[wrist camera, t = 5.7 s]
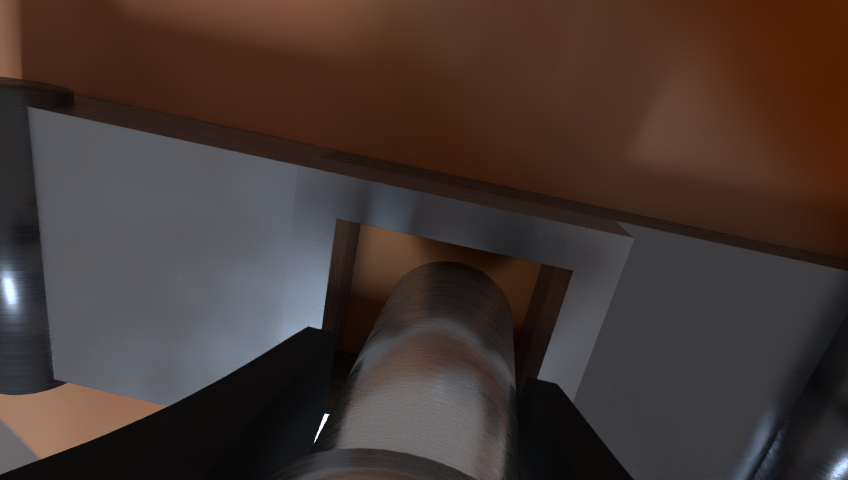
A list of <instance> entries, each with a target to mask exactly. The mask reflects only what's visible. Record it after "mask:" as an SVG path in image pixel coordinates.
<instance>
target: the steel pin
mask: <svg viewBox="0 0 848 480" xmlns="http://www.w3.org/2000/svg"><path fill="white" fill-rule="evenodd" d="M264 480H521V479H520V459H519V440H518V421H517V401H516V382H515V362H514V343H513V323H512V313H511V308H510V305H509V302H508V300H507V298H506V296H505V294H504V292H503V291H502V289H501V288H500V287H499V286H498V285H497V283H496V282H495V281H494V280H493V279H491V278H490V277H489V276H488V275H486V274H485V273H483V272H482V271H480V270H478V269H476V268H474V267H471V266H469V265H466V264H462V263H458V262H449V261H440V262H432V263H428V264H424V265H421V266H419V267H417V268H415V269H413V270H411V271H410V272H408V273H407V274H406V275H404V276H403V277H402V278H401V279H400V280H399V281H398V282H397V284H396V285H395V286H394V288H393V290H392V292H391V294H390V296H389V298H388V299H387V301H386V303H385V305H384V307H383V309H382V311H381V313H380V315H379V317H378V319H377V321H376V323H375V325H374V327H373V329H372V331H371V333H370V335H369V337H368V339H367V341H366V343H365V345H364V347H363V348H362V350H361V352H360V354H359V356H358V358H357V360H356V362H355V364H354V366H353V368H352V370H351V372H350V374H349V376H348V378H347V380H346V382H345V384H344V386H343V388H342V390H341V392H340V394H339V395H338V397H337V399H336V401H335V403H334V405H333V407H332V409H331V411H330V413H329V415H328V417H327V419H326V421H325V423H324V425H323V427H322V429H321V431H320V433H319V435H318V437H317V439H316V441H315V443H314V444H313V446H312V448H311V450H310V452H309V454H308V456H305V457H301V458H298V459H296V460H294V461H292V462H290V463H288V464H285V465H283V466H282V467H280V468H279V469H277V470H276V471H274V472H273V473H271V474H270V475H268V476H267V477H266V478H265V479H264Z"/></svg>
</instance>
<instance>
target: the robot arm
mask: <svg viewBox="0 0 848 480" xmlns="http://www.w3.org/2000/svg"><path fill="white" fill-rule="evenodd" d="M336 336H337V333H335V332H331V331H326V330H322V329H318V328H313V327H309V326H308V327H306V328H304V329H302V330H301V331H299V332H297V333H296V334H294V335H292V336H291V337H289V338H288V339H286V340H284V341H283V342H281V343H280V344H278V345H276V346H275V347H273V348H272V349H270V350H268V351H267V352H265V353H263V354H262V355H260V356H259V357H257V358H255V359H254V360H252V361H250V362H249V363H247V364H245V365H244V366H242V367H240V368H238V369H237V370H235V371H233V372H232V373H230V374H228V375H227V376H225V377H223V378H221V379H219V380H218V381H216V382H214V383H212V384H210V385H208V386H206V387H204V388H203V389H201V390H199V391H197V392H195V393H193V394H191V395H189V396H187V397H186V398H184V399H182V400H180V401H178V402H176V403H174V404H172V405H170V406H168V407H166V408H164V409H162V410H160V411H158V412H155V413H153V414H151V415H149V416H147V417H145V418H143V419H140V420H138V421H136V422H133V423H131V424H129V425H126V426H124V427H122V428H120V429H117V430H115V431H113V432H110V433H108V434H106V435H103V436H101V437H99V438H96V439H94V440H91V441H89V442H86V443H84V444H81V445H78V446H76V447H73V448H70V449H68V450H65V451H62V452H60V453H57V454H54V455H52V456H49V457H46V458H44V459H41V460H38V461H36V462H33V463H30V464H28V465H25V466H22V467H19V468H17V469H14V470H11V471H9V472H6V473H3V474H1V475H0V480H264V479H265V478H266V477H267V476H268V475H270V474H271V473H273V472H274V471H276V470H277V469H279V468H280V467H282V466H283V465H285V464H288V463H290V462H292V461H294V460H296V459H298V458H301V457H305V456H308V454H309V452H310V450H311V448H312V446H313V444H314V441H315V439H316V436H317V433H318V431H319V428H320V425H321V423H322V420H323V417H324V415H325V409H326V403H327V396H328V389H329V382H330V376H331V369H332V362H333V356H334V349H335V342H336ZM517 421H518V440H519V459H520V479H521V480H634V479H633V478H632V477H631V476H630V474H629V473H628V472H627V471H626V469H625V468H624V467H623V466H622V465H621V463H620V462H619V461H618V460H617V459H616V457H615V456H614V455H613V454H612V452H611V451H610V450H609V449H608V447H607V446H606V445H605V444H604V442H603V441H602V440H601V439H600V437H599V436H598V435H597V433H596V432H595V431H594V430H593V428H592V427H591V426H590V424H589V423H588V422H587V421H586V419H585V418H584V417H583V415H582V414H581V413H580V412H579V410H578V409H577V408H576V406H575V405H574V404H573V403H572V401H571V400H570V399H569V397H568V396H567V395H566V394H565V392H564V391H563V390H562V389H561V388H560V387H559V385H558V384H557V383H552V382H548V381H544V380H539V379H535V378H531V377H526V380H525V383H524V386H523V389H522V392H521V395H520V398H519V401H518V405H517Z"/></svg>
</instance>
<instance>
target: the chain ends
mask: <svg viewBox="0 0 848 480" xmlns="http://www.w3.org/2000/svg"><path fill="white" fill-rule="evenodd" d="M360 224H365V225H370V226H374V227H379V228H383V229H388V230H392V231H397V232H401V233H406V234H410V235H415V236H419V237H424V238H428V239H433V240H437V241H442V242H447V243H451V244H456V245H460V246H465V247H469V248H474V249H478V250H483V251H487V252H492V253H496V254H501V255H505V256H510V257H514V258H519V259H524V260H528V261H533V262H537V263H542V266H541V270H540V273H539V276H538V279H537V283H536V286H535V289H534V292H533V296H532V299H531V302H530V305H529V309H528V312H527V315H526V318H525V322H524V325H523V328H522V331H521V335H520V338H519V341H518V344H517V347H516V351H515V354H514V362H515V382H516V401H517V405H518V401H519V398H520V395H521V392H522V389H523V386H524V383H525V380H526V377H531V378H535V379H539V380H544V381H548V382H552V383H557V384H558V385H559V387H560V388H561V389H562V390H563V391H564V392H565V394H566V395H567V396H568V397H569V399H570V400H571V401H572V403H573V404H574V405H575V406H576V408H577V409H578V410H579V412H580V413H581V414H582V415H583V417H584V418H585V419H586V421H587V422H588V423H589V424H590V426H591V427H592V428H593V430H594V431H595V432H596V433H597V435H598V436H599V437H600V439H601V440H602V441H603V442H604V444H605V445H606V446H607V447H608V449H609V450H610V451H611V452H612V454H613V455H614V456H615V457H616V459H617V460H618V461H619V462H620V463H621V465H622V466H623V467H624V468H625V469H626V471H627V472H628V473H629V474H630V476H631V477H632V478H633V479H636V480H848V260H843V259H839V258H834V257H830V256H825V255H820V254H816V253H811V252H806V251H802V250H797V249H792V248H788V247H783V246H778V245H774V244H769V243H764V242H760V241H755V240H750V239H746V238H741V237H737V236H732V235H727V234H723V233H718V232H713V231H709V230H704V229H699V228H695V227H690V226H685V225H681V224H676V223H671V222H667V221H662V220H658V219H653V218H648V217H644V216H639V215H634V214H630V213H625V212H620V211H616V210H611V209H606V208H602V207H597V206H592V205H588V204H583V203H579V202H574V201H569V200H565V199H560V198H555V197H551V196H546V195H541V194H537V193H532V192H527V191H523V190H518V189H513V188H509V187H504V186H500V185H495V184H490V183H486V182H481V181H476V180H472V179H467V178H462V177H458V176H453V175H448V174H444V173H439V172H434V171H430V170H425V169H420V168H416V167H411V166H407V165H402V164H397V163H393V162H388V161H383V160H379V159H374V158H369V157H365V156H360V155H355V154H351V153H346V152H341V151H337V150H332V149H328V148H323V147H318V146H314V145H309V144H304V143H300V142H295V141H290V140H286V139H281V138H276V137H272V136H267V135H262V134H258V133H253V132H249V131H244V130H239V129H235V128H230V127H225V126H221V125H216V124H211V123H207V122H202V121H197V120H193V119H188V118H183V117H179V116H174V115H170V114H165V113H160V112H156V111H151V110H146V109H142V108H137V107H132V106H128V105H123V104H118V103H114V102H109V101H104V100H100V99H95V98H91V97H86V96H81V95H77V94H74V91H73V90H71V89H68V88H65V87H61V86H57V85H52V84H47V83H42V82H36V81H30V80H23V79H16V78H8V77H0V394H7V395H24V394H32V393H38V392H42V391H46V390H50V389H53V388H56V387H59V386H61V385H64V384H66V383H72V384H77V385H81V386H85V387H89V388H93V389H97V390H102V391H106V392H110V393H114V394H118V395H122V396H127V397H131V398H135V399H139V400H143V401H147V402H152V403H156V404H160V405H164V406H170V405H172V404H174V403H176V402H178V401H180V400H182V399H184V398H186V397H187V396H189V395H191V394H193V393H195V392H197V391H199V390H201V389H203V388H204V387H206V386H208V385H210V384H212V383H214V382H216V381H218V380H219V379H221V378H223V377H225V376H227V375H228V374H230V373H232V372H233V371H235V370H237V369H238V368H240V367H242V366H244V365H245V364H247V363H249V362H250V361H252V360H254V359H255V358H257V357H259V356H260V355H262V354H263V353H265V352H267V351H268V350H270V349H272V348H273V347H275V346H276V345H278V344H280V343H281V342H283V341H284V340H286V339H288V338H289V337H291V336H292V335H294V334H296V333H297V332H299V331H301V330H302V329H304V328H306V327H308V326H309V327H313V328H318V329H322V330H326V331H331V332H335V333H337V336H336V342H335V349H334V356H333V362H332V369H331V376H330V382H329V389H328V396H327V403H326V409H325V415H324V417H323V420H322V423H321V425H320V428H319V431H318V433H317V436H316V439H317V437H318V435H319V433H320V431H321V429H322V427H323V425H324V423H325V421H326V419H327V417H328V415H329V413H330V411H331V409H332V407H333V405H334V403H335V401H336V399H337V397H338V395H339V394H340V392H341V390H342V388H343V386H344V384H345V382H346V380H347V378H348V376H349V374H350V372H351V370H352V368H353V366H354V364H355V362H356V360H357V358H358V356H355V355H351V354H347V353H342V352H340V350H341V344H342V338H343V331H344V325H345V318H346V312H347V305H348V299H349V292H350V286H351V280H352V273H353V267H354V260H355V254H356V247H357V241H358V235H359V228H360ZM316 439H315V441H316ZM315 441H314V442H315Z"/></svg>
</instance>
